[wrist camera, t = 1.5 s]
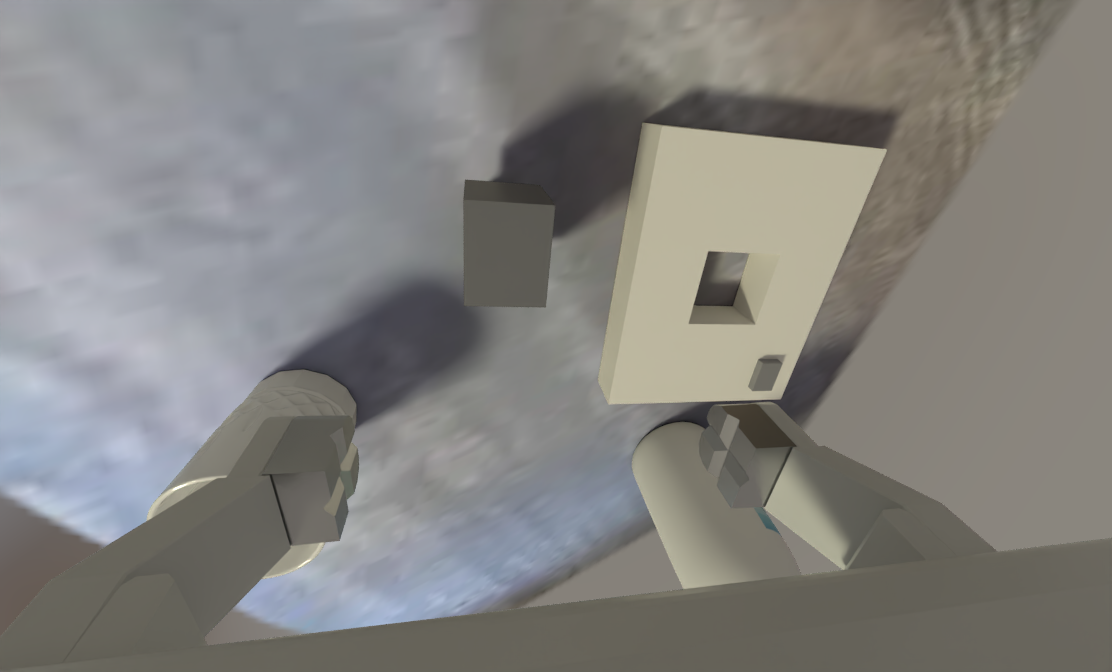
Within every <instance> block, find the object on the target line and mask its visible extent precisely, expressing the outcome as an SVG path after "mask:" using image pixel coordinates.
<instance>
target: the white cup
mask: <svg viewBox="0 0 1112 672" xmlns="http://www.w3.org/2000/svg"><path fill="white" fill-rule="evenodd" d="M356 408H357V405H356V403H355V401H354V399H353V398H352V396H351V395H350V393H349V391H348V390H347V388H346V387H344V386H343V385H341V384H340V383H338V382H337V381H335V380H334V379H332V378H331V377H329V376H328V375H324V374H320V373H316V372H312V371H308V370H304V369H302V370H291V371H280V372H278V373H276V374H274V375H272V376H270V377H268V378H266V379H265V380H263V381H261V382H259V384H258V385H257V386H256V387H255V388H254V390H253V391H252V392H251V393H250V394H249V396H248V397H247V398H246V399H245V400H244V402H243V403H242V404H241V405H239V406H238V407H237V408H236V409H235V410H234V411H233V412H232V413H231V414H230V415H229V416H228V417H227V418H226V420H225V421H224V422H223V423H222V424H221V426H220V427H218V428H217V429H216V430H215V431H214V433H213V434H212V435H211V436H210V437H209V438H208V440H207V441H206V442H205V443H204V444H203V446H202V447H201V448H200V449H199V450H198V451H197V453H196V454H195V455H194V456H193V457H192V459H191V460H190V461H189V462H188V463H187V464H186V466H185V467H184V468H183V469H182V470H181V471H180V473H179V474H178V475H177V476H176V477H175V478H174V480H173V481H172V482H171V483H170V484H169V485H168V487H167V488H166V489H165V490H164V491H163V492H162V493H161V495H160V496H159V497H158V498H157V499H156V500H155V502H154V503H153V504H152V506H151V508H150V510H149V512H148V516H147V521H148V520H149V519H151V518H153V517H154V516H156V515H158V514H159V513H161V512H162V511H164V510H166V509H167V508H169V507H171V506H172V505H174V504H176V503H177V502H179V501H180V500H182V499H184V498H185V497H187V496H189V495H190V494H192V493H193V492H195V491H197V490H198V489H200V488H202V487H203V486H205V485H206V484H208V483H210V482H211V481H213V480H215V479H216V478H226V477H227V475H228V474H229V472H230V471H231V469H232V468H233V466H234V465H235V463H236V461H237V460H238V458H239V457H240V455H241V454H242V452H243V451H244V449H245V448H246V446H247V445H248V443H249V442H250V440H251V439H252V437H253V436H254V434H255V432H256V431H257V429H258V428H259V426H260V425H261V423H262V422H263V421H264V420H265V419H267V418H269V417H284V416H295V417H297V416H350V417H351V418H352V419H353V424H354V428H355V425H356ZM324 544H325V542H323V543H314V544H305V545H295V546H290V547H291V549H290V550H289V551H288V552H287V553H286V554H285V555H284V556H283V557H282V558H281V559H280V560H279V561H278V562H277V563H276V564H275V565H274V566H273V567H272V569H271V570H270V571H269V572H268V573H267V574H266V575H265V576H264V577H263V578H262V579H266V578H272V577H277V576H281V575H284V574H287V573H290V572H293V571H295V570H297V569H299V568H301V567H303V566H305V565H306V564H308V563H309V562H310V561H312V560H313V559H314V558H315V557H316V556H317V555H318V554H319V553H320V551H321V550H322V548H323V546H324Z"/></svg>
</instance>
